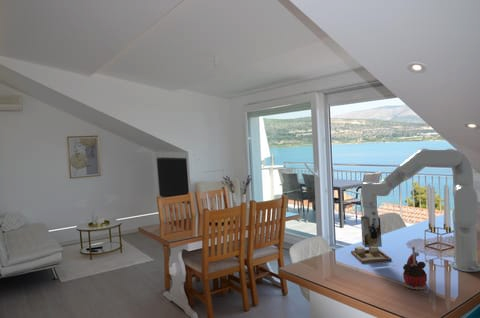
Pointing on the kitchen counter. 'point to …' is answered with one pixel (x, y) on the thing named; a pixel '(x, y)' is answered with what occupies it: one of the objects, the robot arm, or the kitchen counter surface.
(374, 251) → the beech block
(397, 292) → the kitchen counter surface
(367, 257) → the tray
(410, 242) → the kitchen counter surface
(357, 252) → the beech block
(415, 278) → the cake
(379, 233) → the coffee box
